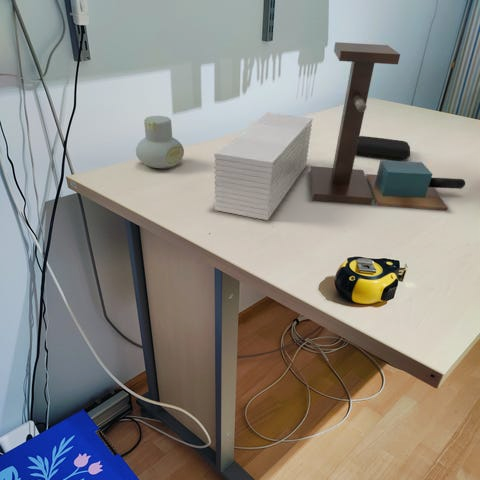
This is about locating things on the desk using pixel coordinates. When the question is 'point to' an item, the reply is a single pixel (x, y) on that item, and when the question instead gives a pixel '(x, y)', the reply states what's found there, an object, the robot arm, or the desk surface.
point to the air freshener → (159, 144)
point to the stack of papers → (261, 165)
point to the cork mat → (406, 198)
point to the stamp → (410, 179)
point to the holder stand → (351, 127)
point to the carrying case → (383, 148)
